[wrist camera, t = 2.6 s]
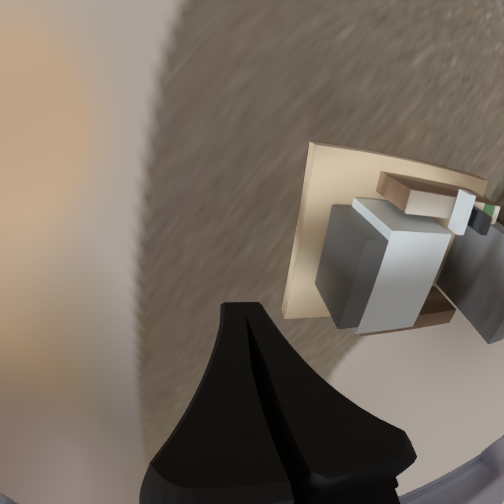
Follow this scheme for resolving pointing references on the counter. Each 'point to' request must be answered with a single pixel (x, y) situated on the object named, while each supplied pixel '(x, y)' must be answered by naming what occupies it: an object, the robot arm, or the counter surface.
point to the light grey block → (382, 262)
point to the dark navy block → (479, 221)
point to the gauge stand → (411, 202)
